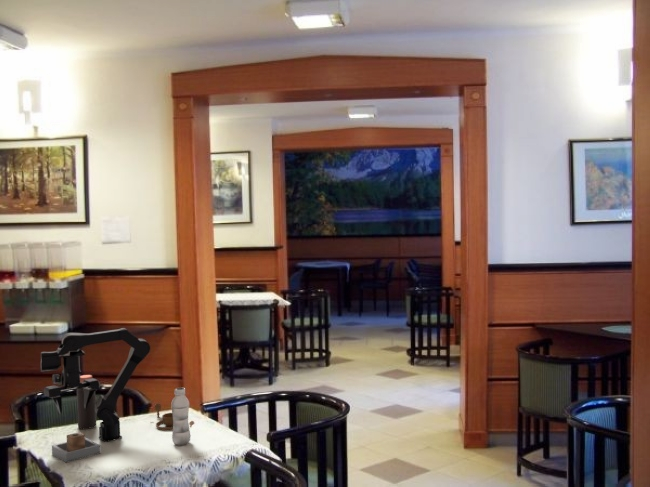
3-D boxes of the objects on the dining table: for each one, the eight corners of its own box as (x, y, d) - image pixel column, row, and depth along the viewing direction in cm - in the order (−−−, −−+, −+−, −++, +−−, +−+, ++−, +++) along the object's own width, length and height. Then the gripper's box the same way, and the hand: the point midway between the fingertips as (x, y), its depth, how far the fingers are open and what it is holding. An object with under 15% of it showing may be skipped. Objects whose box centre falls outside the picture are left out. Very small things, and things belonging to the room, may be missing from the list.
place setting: (145, 433, 261) (145, 417, 261) (153, 417, 281) (153, 403, 281) (192, 431, 263) (191, 415, 263) (197, 415, 283) (196, 401, 283)
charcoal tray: (85, 445, 247) (85, 437, 247) (100, 453, 238) (100, 445, 238) (52, 453, 239) (51, 445, 239) (66, 462, 230) (65, 453, 230)
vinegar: (89, 423, 274) (87, 373, 273) (100, 425, 270) (98, 375, 269) (74, 427, 268) (72, 377, 267) (85, 430, 264) (83, 379, 264)
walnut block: (79, 448, 242) (79, 431, 241) (85, 451, 238) (84, 434, 238) (67, 452, 239) (66, 434, 238) (72, 455, 235) (71, 437, 235)
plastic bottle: (194, 442, 248) (192, 387, 247) (183, 448, 242) (181, 392, 241) (179, 440, 251) (178, 385, 250) (168, 445, 245) (166, 390, 244)
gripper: (86, 361, 260) (88, 401, 261) (36, 369, 248) (38, 412, 248) (99, 365, 252) (101, 407, 253) (48, 374, 239) (50, 418, 240)
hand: (73, 411), depth 249 cm, fingers open, 9 cm apart
